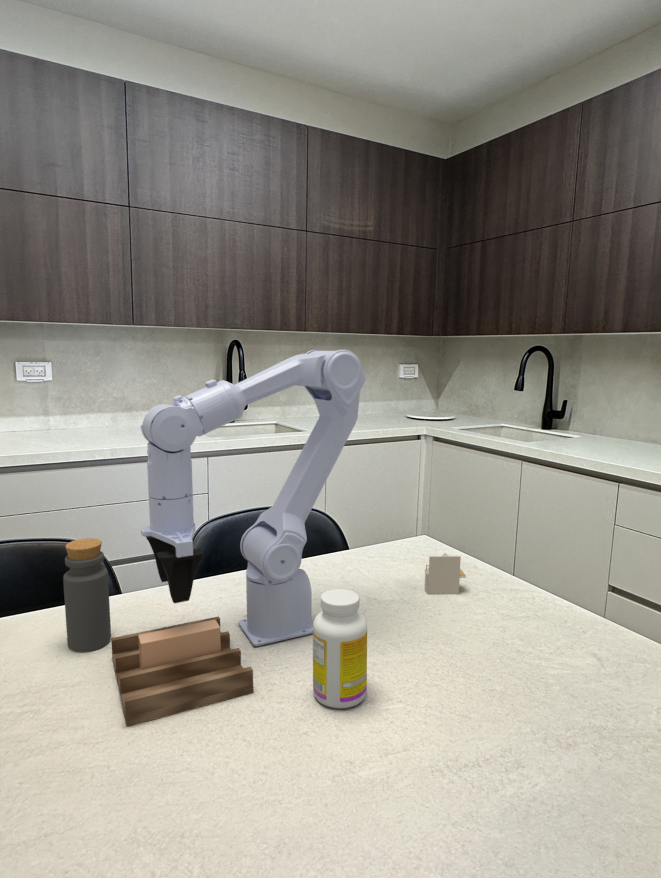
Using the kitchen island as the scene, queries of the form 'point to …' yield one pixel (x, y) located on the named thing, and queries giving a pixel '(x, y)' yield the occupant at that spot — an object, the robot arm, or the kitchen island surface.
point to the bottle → (86, 596)
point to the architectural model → (443, 575)
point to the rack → (176, 679)
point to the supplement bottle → (340, 650)
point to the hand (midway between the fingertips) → (174, 590)
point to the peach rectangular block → (178, 644)
